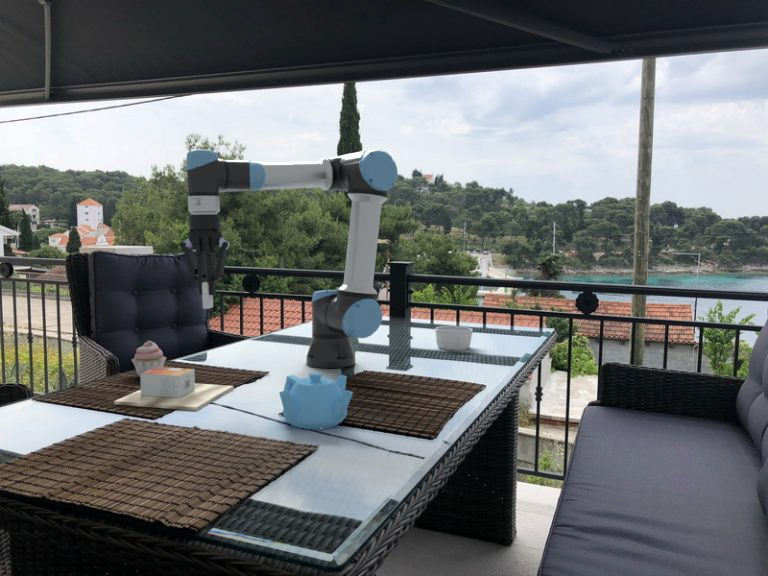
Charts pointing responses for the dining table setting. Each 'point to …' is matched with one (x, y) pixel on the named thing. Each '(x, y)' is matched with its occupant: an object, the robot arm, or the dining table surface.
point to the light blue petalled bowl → (315, 401)
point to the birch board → (187, 402)
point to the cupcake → (148, 357)
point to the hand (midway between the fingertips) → (208, 307)
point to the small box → (167, 382)
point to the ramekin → (453, 337)
